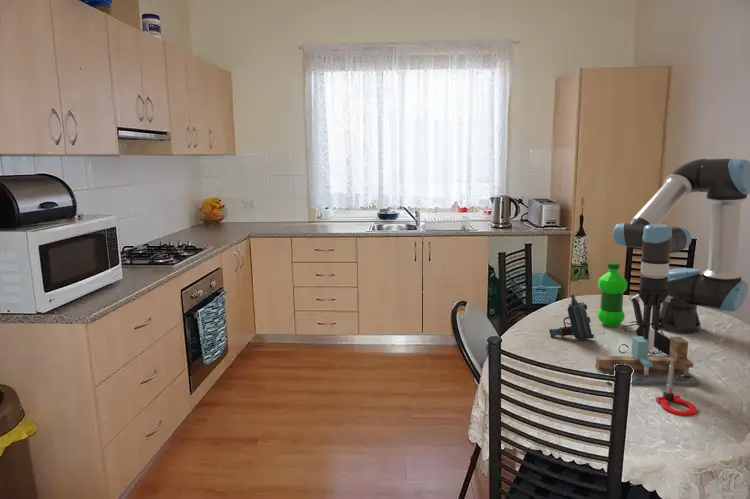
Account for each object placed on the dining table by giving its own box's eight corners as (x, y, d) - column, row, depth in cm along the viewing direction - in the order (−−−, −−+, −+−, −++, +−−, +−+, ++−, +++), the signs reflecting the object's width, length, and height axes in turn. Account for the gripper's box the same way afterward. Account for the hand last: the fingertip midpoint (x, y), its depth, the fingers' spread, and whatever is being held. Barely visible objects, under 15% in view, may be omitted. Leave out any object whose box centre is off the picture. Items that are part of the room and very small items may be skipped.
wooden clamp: (680, 364, 167) (682, 336, 165) (695, 378, 157) (698, 348, 155) (595, 363, 170) (596, 335, 168) (604, 376, 160) (606, 347, 158)
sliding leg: (640, 363, 168) (642, 336, 166) (653, 377, 158) (655, 348, 157) (630, 363, 169) (632, 336, 167) (642, 376, 159) (644, 348, 157)
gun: (542, 299, 199) (583, 292, 193) (553, 341, 200) (594, 335, 194) (541, 301, 197) (583, 294, 190) (552, 343, 198) (594, 338, 191)
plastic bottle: (620, 320, 214) (623, 260, 209) (627, 329, 203) (631, 266, 199) (594, 320, 215) (596, 260, 211) (600, 328, 205) (603, 266, 201)
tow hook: (704, 416, 139) (679, 398, 148) (709, 371, 136) (684, 356, 145) (674, 419, 138) (652, 401, 147) (679, 374, 135) (656, 358, 144)
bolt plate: (680, 369, 167) (681, 364, 166) (699, 385, 155) (699, 381, 155) (595, 367, 170) (595, 363, 169) (607, 383, 158) (607, 379, 158)
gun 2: (671, 374, 176) (689, 351, 172) (625, 346, 182) (641, 323, 178) (671, 371, 178) (689, 348, 174) (626, 343, 185) (642, 321, 181)
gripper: (671, 272, 163) (665, 344, 167) (627, 272, 164) (623, 344, 169) (682, 278, 156) (676, 353, 160) (636, 278, 157) (631, 352, 161)
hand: (649, 348), depth 164 cm, fingers closed
